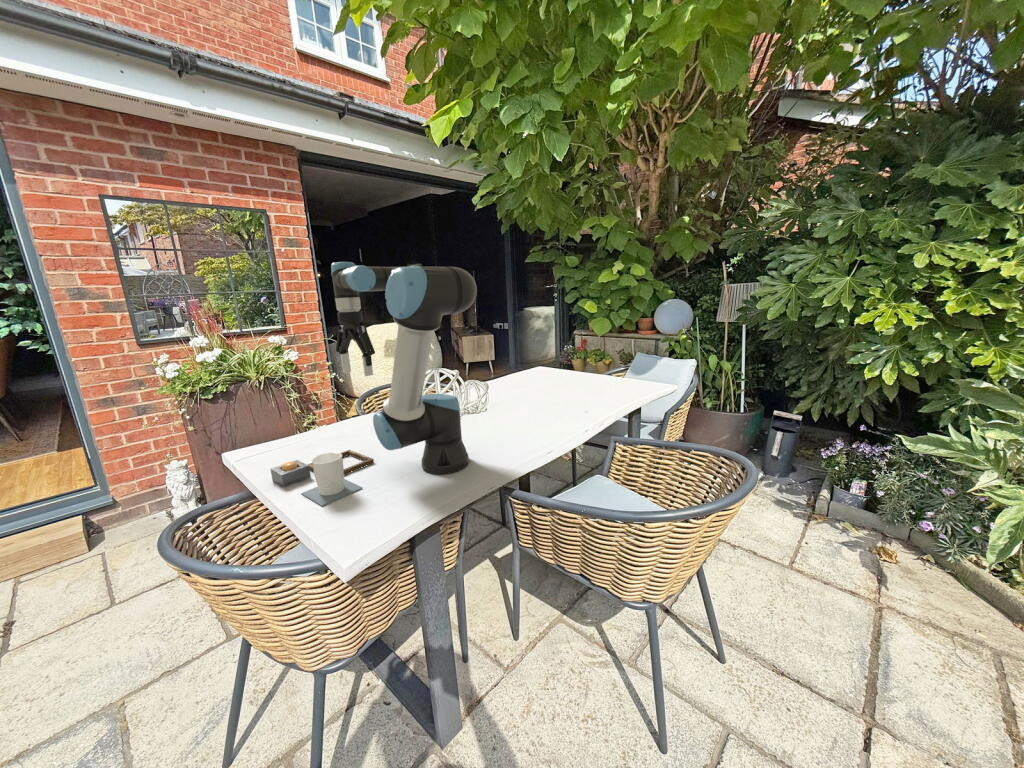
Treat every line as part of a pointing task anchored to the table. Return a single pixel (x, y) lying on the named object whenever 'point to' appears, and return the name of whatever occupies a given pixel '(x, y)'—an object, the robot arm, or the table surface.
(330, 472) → the white cup
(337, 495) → the mat
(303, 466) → the housing
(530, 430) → the table surface
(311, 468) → the collar
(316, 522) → the table surface
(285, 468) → the orange rounded block
